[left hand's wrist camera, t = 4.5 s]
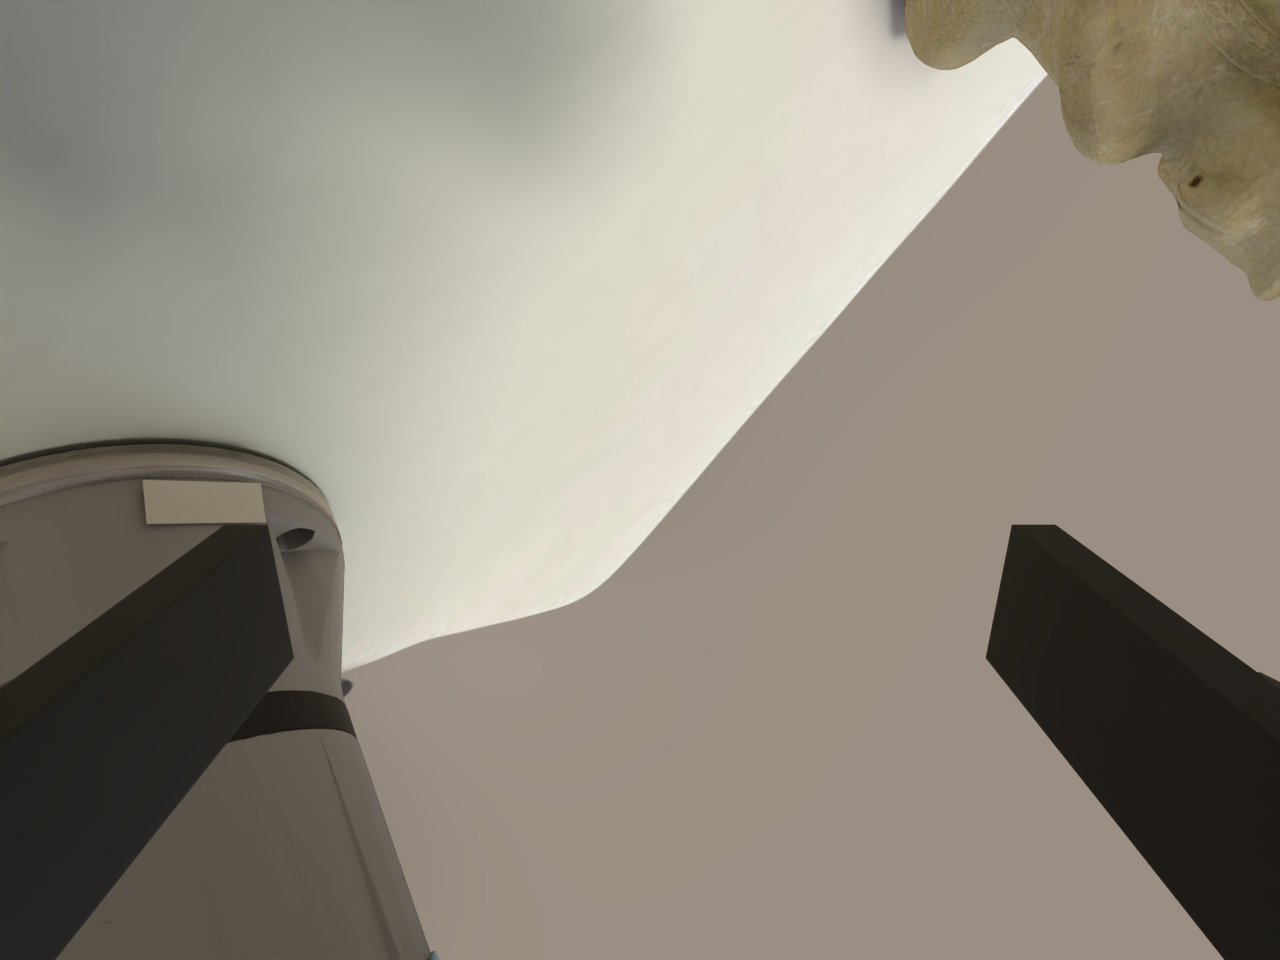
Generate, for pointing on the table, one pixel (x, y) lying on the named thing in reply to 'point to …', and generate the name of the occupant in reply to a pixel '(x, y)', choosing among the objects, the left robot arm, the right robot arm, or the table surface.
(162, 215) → the table surface
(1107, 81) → the sculpture
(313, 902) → the left robot arm
